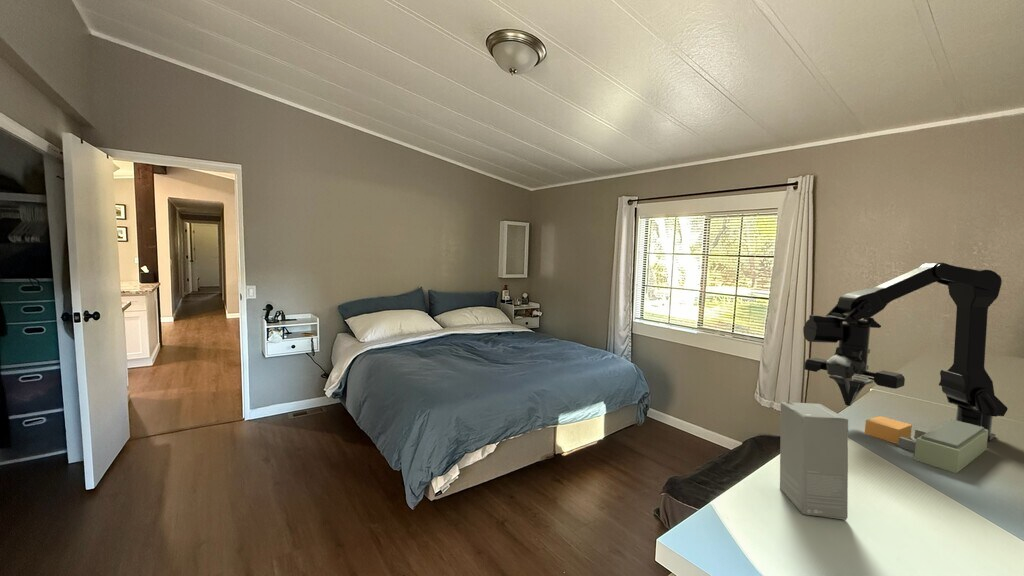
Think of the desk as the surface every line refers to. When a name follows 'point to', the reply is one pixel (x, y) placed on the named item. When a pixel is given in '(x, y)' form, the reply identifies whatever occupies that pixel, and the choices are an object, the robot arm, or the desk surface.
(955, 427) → the sage green lidded box
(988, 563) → the desk surface
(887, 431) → the amber cuboid
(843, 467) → the skincare box
